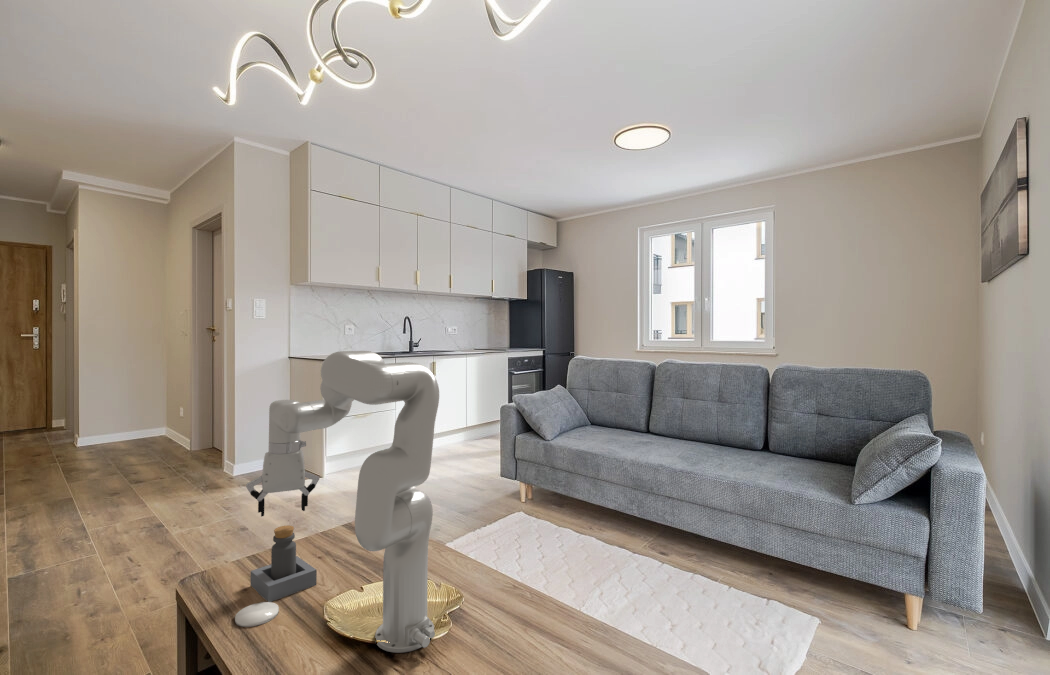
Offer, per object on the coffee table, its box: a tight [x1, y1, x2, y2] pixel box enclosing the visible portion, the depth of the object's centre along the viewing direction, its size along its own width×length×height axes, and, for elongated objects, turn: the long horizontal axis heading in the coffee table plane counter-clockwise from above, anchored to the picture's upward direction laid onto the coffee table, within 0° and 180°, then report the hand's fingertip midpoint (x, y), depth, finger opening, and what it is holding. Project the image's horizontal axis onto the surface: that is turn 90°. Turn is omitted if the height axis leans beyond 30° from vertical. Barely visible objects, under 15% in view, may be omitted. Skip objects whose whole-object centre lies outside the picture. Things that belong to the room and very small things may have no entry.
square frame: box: [250, 555, 318, 603], centre depth 130 cm, size 12×12×4 cm
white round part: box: [234, 601, 280, 628], centre depth 115 cm, size 9×9×1 cm
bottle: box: [270, 525, 297, 581], centre depth 130 cm, size 6×6×15 cm
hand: (283, 511), depth 130 cm, fingers open, 9 cm apart
